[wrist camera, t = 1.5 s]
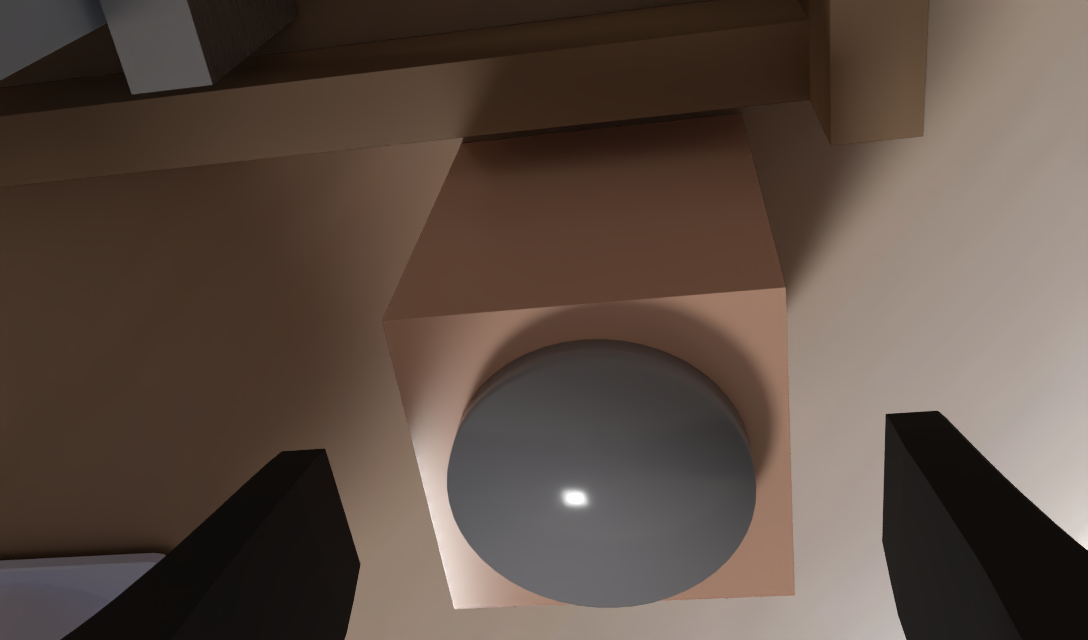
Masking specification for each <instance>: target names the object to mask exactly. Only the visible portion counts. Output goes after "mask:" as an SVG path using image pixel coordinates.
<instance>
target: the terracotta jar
mask: <svg viewBox="0 0 1088 640" xmlns="http://www.w3.org/2000/svg"><path fill="white" fill-rule="evenodd" d="M382 323H383V327H384V331H385V335H386V339H387V343H388V347H389V351H390V355H391V359H392V363H393V367H394V370H395V374H396V378H397V382H398V386H399V390H400V394H401V398H402V402H403V406H404V410H405V414H406V418H407V422H408V426H409V430H410V434H411V438H412V442H413V446H414V450H415V454H416V458H417V462H418V466H419V470H420V474H421V478H422V482H423V486H424V490H425V494H426V498H427V502H428V506H429V510H430V514H431V518H432V522H433V526H434V530H435V534H436V538H437V542H438V546H439V550H440V554H441V558H442V562H443V566H444V570H445V574H446V578H447V582H448V586H449V590H450V594H451V598H452V602H453V606H454V609H466V608H490V607H515V606H540V605H565V604H573V605H578V606H587V607H597V608H618V607H629V606H637V605H643V604H648V603H653V602H656V601H664V600H689V599H714V598H738V597H763V596H788V595H795V585H794V551H793V516H792V482H791V448H790V414H789V380H788V345H787V311H786V286H785V282H784V278H783V274H782V271H781V267H780V263H779V259H778V255H777V251H776V247H775V243H774V239H773V235H772V231H771V227H770V224H769V220H768V216H767V212H766V208H765V204H764V200H763V196H762V192H761V188H760V184H759V180H758V177H757V173H756V169H755V165H754V161H753V157H752V153H751V149H750V145H749V141H748V137H747V134H746V130H745V126H744V122H743V118H742V114H733V115H723V116H714V117H705V118H695V119H686V120H677V121H667V122H658V123H649V124H639V125H630V126H621V127H611V128H602V129H593V130H583V131H574V132H565V133H555V134H546V135H537V136H527V137H518V138H509V139H499V140H490V141H481V142H471V143H462V144H461V146H460V148H459V150H458V153H457V155H456V157H455V159H454V162H453V164H452V166H451V168H450V170H449V173H448V175H447V177H446V179H445V182H444V184H443V186H442V188H441V191H440V193H439V195H438V197H437V199H436V202H435V204H434V206H433V208H432V211H431V213H430V215H429V217H428V220H427V222H426V224H425V226H424V228H423V231H422V233H421V235H420V237H419V240H418V242H417V244H416V246H415V249H414V251H413V253H412V255H411V257H410V260H409V262H408V264H407V266H406V269H405V271H404V273H403V275H402V277H401V280H400V282H399V284H398V286H397V289H396V291H395V293H394V295H393V298H392V300H391V302H390V304H389V306H388V309H387V311H386V313H385V315H384V318H383V320H382Z"/></svg>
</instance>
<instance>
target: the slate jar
mask: <svg viewBox="0 0 1088 640" xmlns="http://www.w3.org/2000/svg"><path fill="white" fill-rule="evenodd" d="M106 23H107V21H106V18H105V15H104V12H103V9H102V6H101V4H100V1H99V0H0V80H2V79H4V78H6V77H8V76H10V75H11V74H13V73H15V72H17V71H19V70H21V69H23V68H24V67H26V66H28V65H30V64H32V63H34V62H36V61H37V60H39V59H41V58H43V57H45V56H47V55H49V54H51V53H52V52H54V51H56V50H58V49H60V48H62V47H64V46H65V45H67V44H69V43H71V42H73V41H75V40H77V39H78V38H80V37H82V36H84V35H86V34H88V33H90V32H92V31H93V30H95V29H97V28H99V27H101V26H103V25H105V24H106Z"/></svg>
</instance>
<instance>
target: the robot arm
mask: <svg viewBox="0 0 1088 640" xmlns="http://www.w3.org/2000/svg"><path fill="white" fill-rule="evenodd" d="M882 542H883V547H884V552H885V556H886V561H887V566H888V571H889V576H890V580H891V585H892V590H893V594H894V598H895V603H896V607H897V612H898V616H899V619H900V622H901V625H902V628H903V631H904V634H905V637H906V639H907V640H1088V550H1086V549H1085V548H1084V547H1083V546H1081V545H1080V544H1079V543H1078V542H1076V541H1075V540H1074V539H1073V538H1072V537H1071V536H1069V535H1068V534H1067V533H1066V532H1065V531H1064V530H1062V529H1061V528H1060V527H1059V526H1058V525H1057V524H1055V523H1054V522H1053V521H1052V520H1051V519H1050V518H1049V517H1048V516H1047V515H1046V514H1044V513H1043V512H1042V511H1041V510H1040V509H1039V508H1038V507H1037V506H1036V505H1034V504H1033V503H1032V502H1031V501H1030V500H1029V499H1028V498H1027V497H1026V496H1024V495H1023V494H1022V493H1021V492H1020V491H1019V490H1018V489H1017V488H1016V487H1015V486H1014V485H1013V484H1012V483H1011V482H1010V481H1008V480H1007V479H1006V478H1005V477H1004V476H1003V475H1002V474H1001V473H1000V472H999V471H998V470H997V469H996V468H995V467H994V466H993V465H992V464H991V463H990V462H989V461H988V460H987V459H986V458H985V457H984V456H983V455H982V454H981V453H980V452H979V451H978V450H977V449H976V448H975V447H974V446H973V445H972V444H971V443H970V442H969V441H968V440H967V439H966V438H965V437H964V436H963V435H962V434H961V433H960V432H959V431H958V430H957V429H956V428H955V426H954V425H953V424H952V423H951V422H950V421H949V420H948V419H947V418H946V417H944V416H943V415H942V414H941V413H940V412H939V411H927V412H911V413H895V414H886V426H885V463H884V500H883V537H882ZM359 569H360V562H359V558H358V555H357V552H356V548H355V545H354V542H353V539H352V535H351V532H350V529H349V525H348V522H347V519H346V516H345V512H344V509H343V506H342V503H341V499H340V496H339V493H338V489H337V486H336V483H335V480H334V476H333V473H332V470H331V466H330V463H329V460H328V457H327V453H326V450H325V449H313V450H297V451H282V452H281V453H279V454H278V455H277V456H276V457H275V458H273V459H272V460H271V461H270V462H269V463H267V464H266V465H265V466H264V467H263V468H262V469H261V470H260V471H258V472H257V473H256V474H255V475H254V476H253V477H252V478H251V479H250V480H249V481H247V482H246V483H245V484H244V485H243V486H242V487H241V488H240V489H239V490H238V491H237V492H236V493H234V494H233V495H232V496H231V497H230V498H229V499H228V500H227V501H226V502H225V503H224V504H223V505H222V506H220V507H219V508H218V509H217V510H216V511H215V512H214V513H213V514H212V515H211V516H210V517H208V518H207V519H206V520H205V521H204V522H203V523H202V524H201V525H200V526H199V527H197V528H196V529H195V530H194V531H193V532H192V533H191V534H190V535H189V536H188V537H186V538H185V539H184V540H183V541H182V542H181V543H180V544H179V545H178V546H177V547H175V548H174V549H173V550H172V551H171V552H170V553H169V554H167V555H164V554H160V553H142V554H122V555H102V556H82V557H62V558H42V559H22V560H3V561H0V640H344V639H345V636H346V633H347V629H348V624H349V619H350V615H351V610H352V606H353V601H354V596H355V590H356V585H357V580H358V574H359Z"/></svg>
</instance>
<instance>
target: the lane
mask: <svg viewBox="0 0 1088 640" xmlns="http://www.w3.org/2000/svg"><path fill="white" fill-rule="evenodd" d="M928 11H929V0H711V1H703V2H694V3H686V4H678V5H670V6H662V7H654V8H646V9H638V10H630V11H622V12H613V13H605V14H597V15H589V16H581V17H573V18H565V19H557V20H549V21H541V22H533V23H524V24H516V25H508V26H500V27H492V28H484V29H476V30H468V31H460V32H452V33H443V34H435V35H427V36H419V37H411V38H403V39H395V40H387V41H379V42H371V43H363V44H354V45H346V46H338V47H330V48H322V49H314V50H306V51H298V52H290V53H282V54H273V55H265V56H257V57H249V58H245V59H244V60H243V61H241V62H240V63H239V64H238V65H236V66H235V67H234V68H233V69H232V70H230V71H229V72H228V73H227V74H225V75H224V76H223V77H222V78H220V79H219V80H218V81H217V82H215V83H214V84H213V85H207V86H199V87H190V88H182V89H174V90H165V91H157V92H149V93H140V94H132V93H131V91H130V88H129V85H128V82H127V79H126V76H125V73H120V74H112V75H103V76H95V77H87V78H79V79H71V80H63V81H55V82H47V83H39V84H31V85H22V86H14V87H6V88H0V187H8V186H17V185H26V184H36V183H45V182H54V181H63V180H73V179H82V178H91V177H100V176H110V175H119V174H128V173H137V172H147V171H156V170H165V169H174V168H184V167H193V166H202V165H211V164H220V163H230V162H239V161H248V160H257V159H267V158H276V157H285V156H294V155H304V154H313V153H322V152H331V151H341V150H350V149H359V148H368V147H378V146H387V145H396V144H405V143H415V142H424V141H433V140H442V139H452V138H461V137H470V136H479V135H489V134H498V133H507V132H516V131H526V130H535V129H544V128H553V127H563V126H572V125H581V124H590V123H600V122H609V121H618V120H627V119H637V118H646V117H655V116H664V115H674V114H683V113H692V112H701V111H711V110H720V109H729V108H738V107H747V106H757V105H766V104H775V103H784V102H794V101H803V100H810V101H811V103H812V105H813V107H814V110H815V112H816V114H817V116H818V118H819V121H820V123H821V125H822V127H823V130H824V132H825V134H826V136H827V138H828V141H829V143H830V145H831V146H832V145H842V144H852V143H862V142H871V141H881V140H891V139H901V138H911V137H921V136H923V132H924V107H925V83H926V59H927V35H928Z"/></svg>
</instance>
